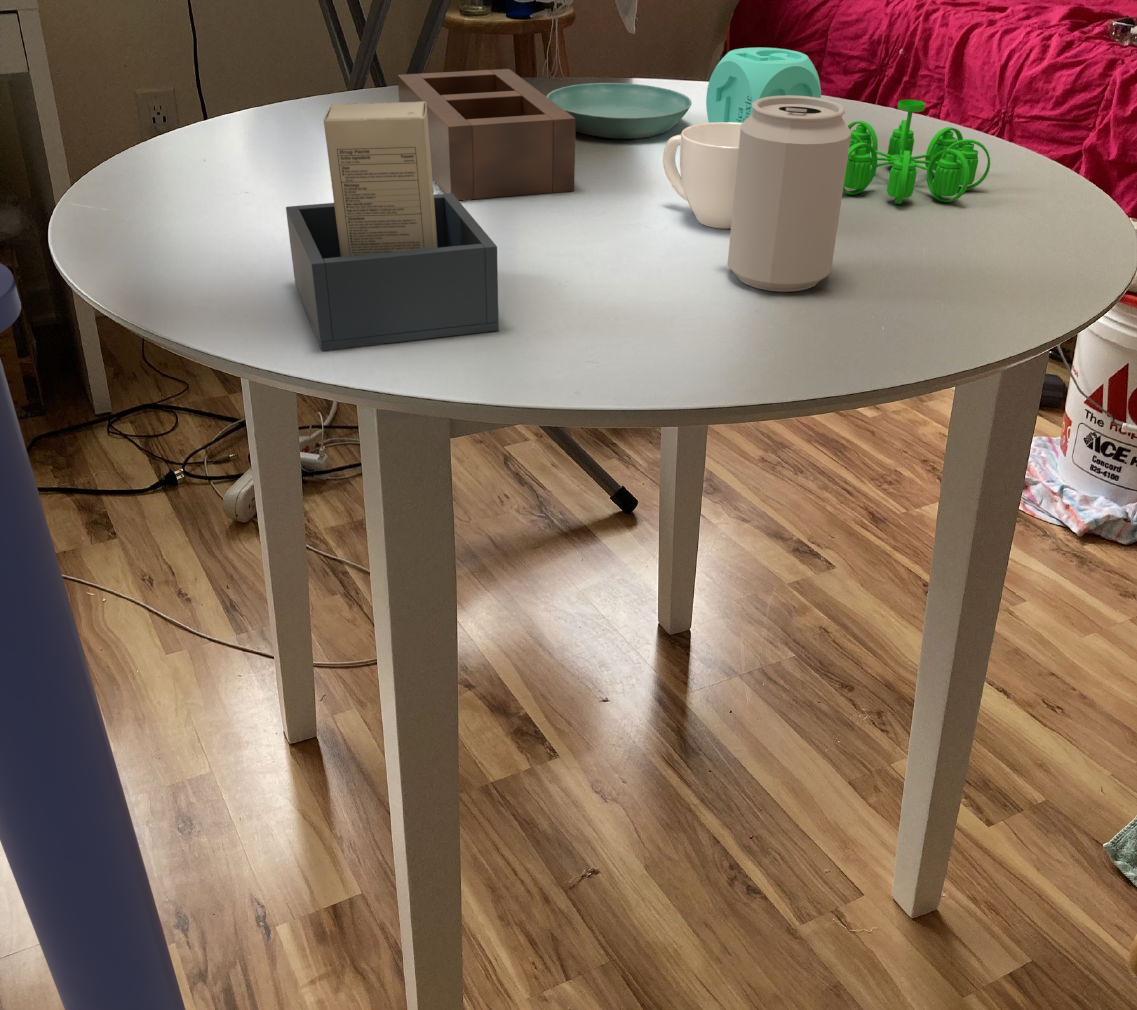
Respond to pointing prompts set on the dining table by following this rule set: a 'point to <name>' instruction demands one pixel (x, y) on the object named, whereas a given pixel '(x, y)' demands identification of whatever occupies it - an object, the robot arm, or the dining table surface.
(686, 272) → the dining table surface
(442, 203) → the open box
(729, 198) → the cup
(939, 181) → the chandelier
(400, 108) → the cosmetic box
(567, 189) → the box
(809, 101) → the can
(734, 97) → the decorative dice
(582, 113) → the saucer
